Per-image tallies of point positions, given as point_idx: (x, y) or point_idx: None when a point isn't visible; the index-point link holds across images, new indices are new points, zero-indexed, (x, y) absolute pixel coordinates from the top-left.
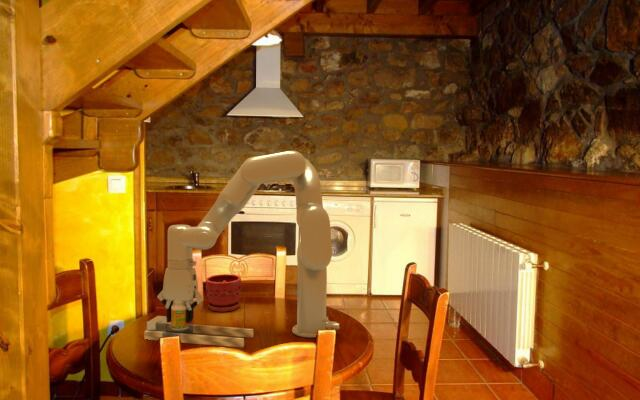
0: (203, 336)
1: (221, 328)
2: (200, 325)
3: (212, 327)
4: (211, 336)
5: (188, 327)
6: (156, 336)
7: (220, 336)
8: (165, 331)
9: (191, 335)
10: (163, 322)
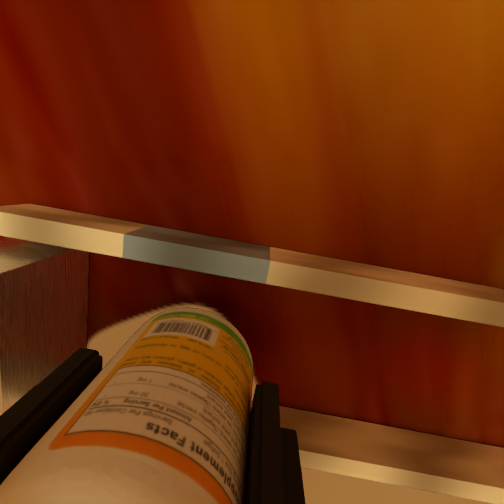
0: (383, 482)
1: (496, 323)
2: (324, 280)
3: (425, 312)
4: (436, 487)
5: (252, 366)
6: None
7: (495, 488)
8: (86, 258)
9: (304, 465)
10: (31, 311)
